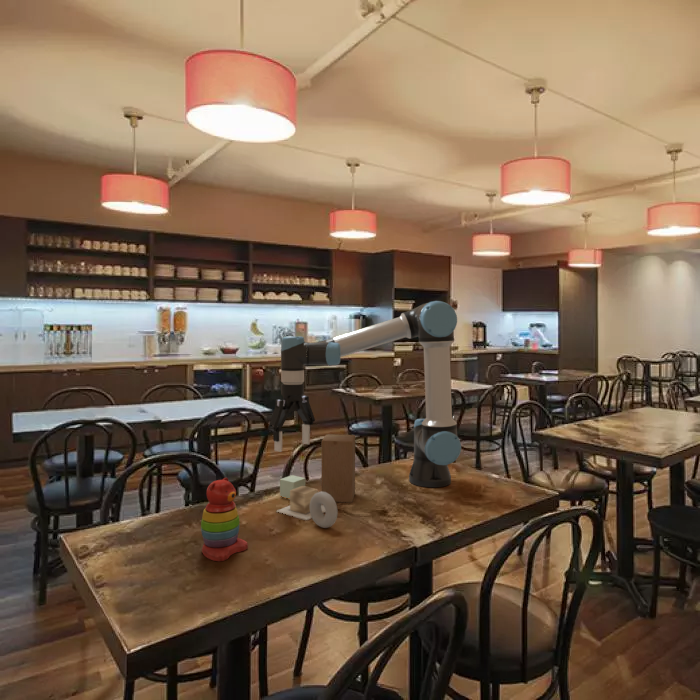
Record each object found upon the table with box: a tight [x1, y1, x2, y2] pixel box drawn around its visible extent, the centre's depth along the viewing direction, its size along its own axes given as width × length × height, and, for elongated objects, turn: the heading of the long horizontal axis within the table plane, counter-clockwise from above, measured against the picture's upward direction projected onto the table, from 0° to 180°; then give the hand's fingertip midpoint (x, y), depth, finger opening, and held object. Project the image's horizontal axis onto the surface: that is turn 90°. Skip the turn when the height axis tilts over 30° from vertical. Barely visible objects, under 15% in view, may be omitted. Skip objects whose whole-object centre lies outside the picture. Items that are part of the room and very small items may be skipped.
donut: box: [310, 490, 339, 529], centre depth 146 cm, size 10×3×10 cm, turn 46°
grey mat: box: [276, 504, 326, 521], centre depth 160 cm, size 12×12×1 cm
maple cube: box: [289, 486, 319, 514], centre depth 159 cm, size 6×6×6 cm
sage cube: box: [279, 474, 307, 499], centre depth 173 cm, size 6×6×6 cm
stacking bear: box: [200, 477, 249, 562], centre depth 131 cm, size 11×10×18 cm
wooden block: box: [320, 433, 356, 504], centre depth 171 cm, size 10×10×20 cm
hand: (292, 447), depth 172 cm, fingers open, 13 cm apart
